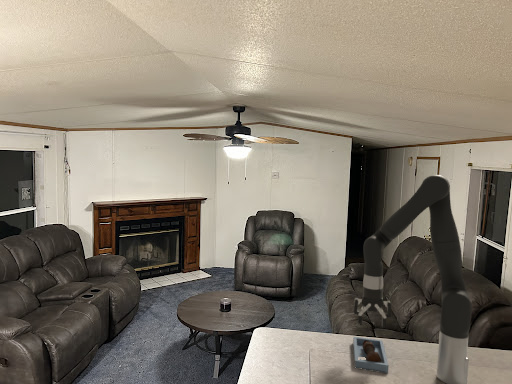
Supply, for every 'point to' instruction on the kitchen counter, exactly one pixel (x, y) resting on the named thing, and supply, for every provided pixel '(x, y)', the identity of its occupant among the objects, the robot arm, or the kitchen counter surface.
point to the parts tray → (361, 353)
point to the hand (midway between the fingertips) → (371, 325)
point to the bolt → (371, 352)
